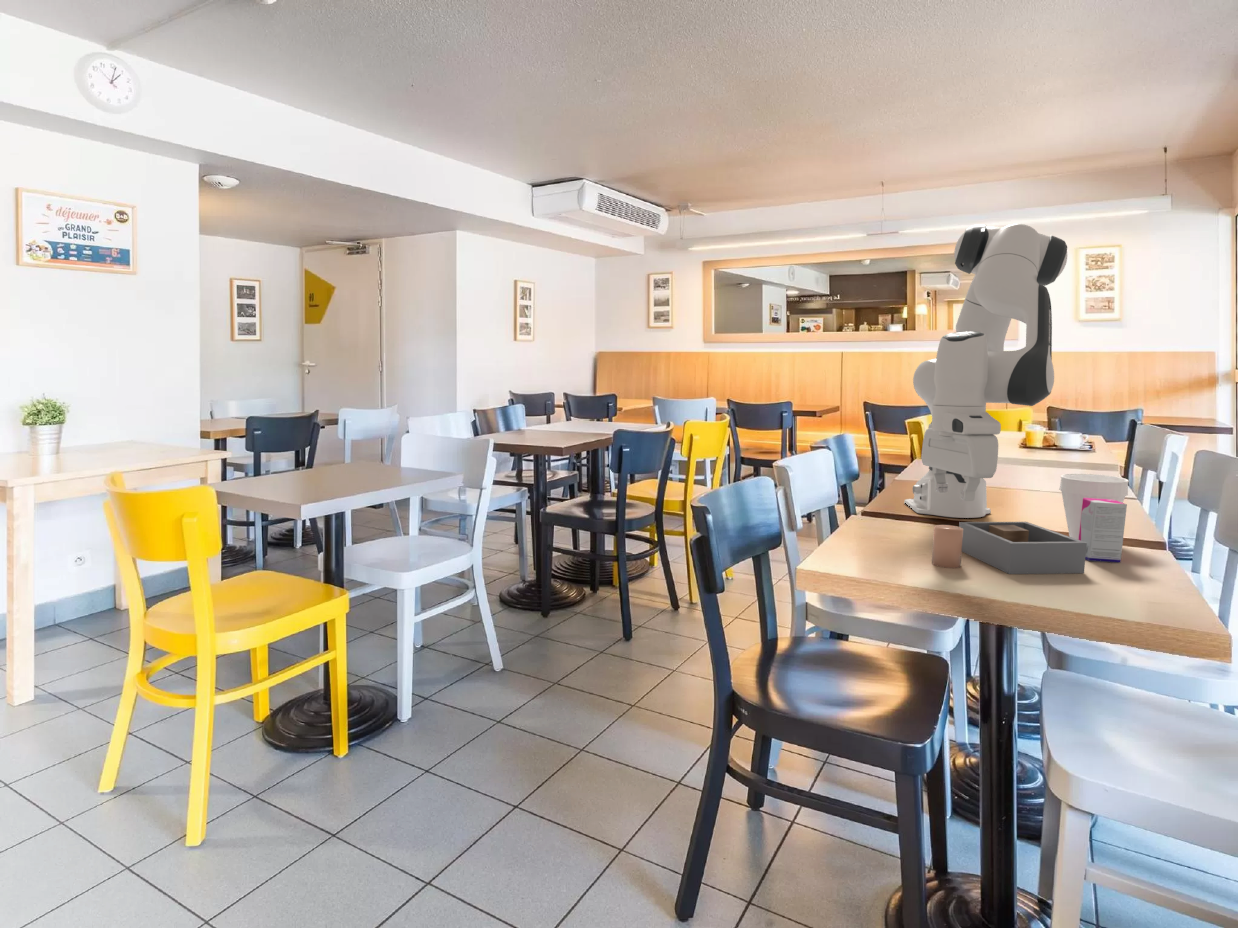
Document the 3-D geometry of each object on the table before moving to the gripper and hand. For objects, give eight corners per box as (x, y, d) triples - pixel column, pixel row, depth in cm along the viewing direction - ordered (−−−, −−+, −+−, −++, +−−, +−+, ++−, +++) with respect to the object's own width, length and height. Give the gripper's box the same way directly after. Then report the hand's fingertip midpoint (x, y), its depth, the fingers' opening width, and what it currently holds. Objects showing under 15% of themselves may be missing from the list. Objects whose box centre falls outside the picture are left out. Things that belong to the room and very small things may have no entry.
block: (1001, 556, 142) (1003, 530, 142) (987, 549, 147) (989, 525, 147) (1026, 555, 143) (1028, 530, 142) (1011, 549, 148) (1013, 524, 147)
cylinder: (926, 560, 141) (929, 524, 140) (952, 560, 141) (954, 524, 141) (939, 568, 136) (942, 530, 135) (965, 567, 136) (968, 530, 136)
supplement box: (1122, 563, 140) (1128, 503, 139) (1087, 561, 141) (1093, 502, 140) (1108, 555, 146) (1114, 498, 144) (1075, 553, 147) (1080, 497, 146)
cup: (1134, 549, 151) (1141, 483, 149) (1068, 546, 153) (1074, 481, 151) (1106, 535, 163) (1112, 474, 161) (1046, 533, 165) (1051, 472, 163)
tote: (957, 549, 150) (959, 522, 149) (1023, 548, 151) (1026, 521, 150) (1008, 573, 132) (1011, 543, 132) (1084, 573, 133) (1086, 542, 132)
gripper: (914, 418, 145) (911, 487, 147) (971, 425, 125) (966, 505, 126) (945, 418, 145) (942, 487, 147) (1007, 425, 125) (1002, 505, 127)
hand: (953, 496), depth 137 cm, fingers open, 8 cm apart
